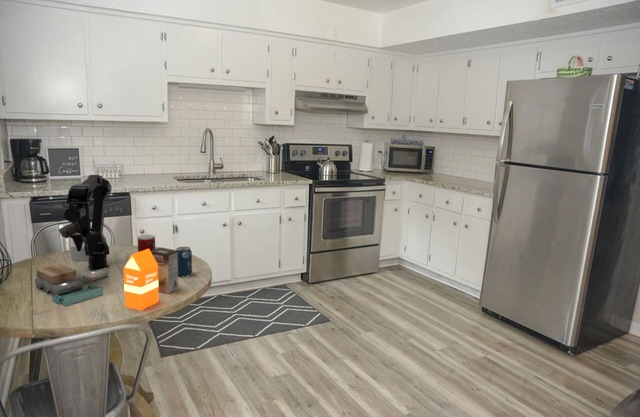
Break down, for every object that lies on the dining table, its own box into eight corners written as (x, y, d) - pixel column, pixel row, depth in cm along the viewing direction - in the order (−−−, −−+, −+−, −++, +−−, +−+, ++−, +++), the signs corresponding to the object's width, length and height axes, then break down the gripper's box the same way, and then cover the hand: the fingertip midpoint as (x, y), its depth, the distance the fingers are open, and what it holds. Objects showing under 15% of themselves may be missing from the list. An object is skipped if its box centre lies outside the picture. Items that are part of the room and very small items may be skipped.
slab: (61, 271, 178) (60, 264, 177) (76, 277, 171) (76, 270, 171) (37, 277, 170) (36, 269, 170) (52, 284, 164) (51, 276, 163)
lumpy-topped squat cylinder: (104, 259, 209) (103, 241, 207) (73, 263, 201) (71, 245, 200) (99, 253, 217) (98, 236, 215) (69, 257, 209) (68, 239, 208)
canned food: (149, 261, 208) (149, 239, 206) (134, 259, 209) (134, 237, 207) (158, 257, 215) (158, 235, 213) (144, 255, 217) (143, 233, 215)
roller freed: (103, 275, 187) (103, 266, 187) (108, 277, 185) (108, 268, 185) (80, 281, 179) (79, 272, 178) (85, 283, 177) (84, 274, 176)
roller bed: (68, 279, 181) (67, 269, 180) (104, 294, 167) (103, 283, 166) (29, 289, 169) (28, 278, 168) (63, 306, 155) (63, 295, 154)
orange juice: (124, 306, 157) (122, 253, 153) (142, 298, 165) (140, 247, 161) (142, 310, 154) (140, 256, 151) (159, 301, 162) (157, 249, 159)
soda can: (192, 276, 190) (192, 250, 188) (175, 278, 187) (175, 251, 185) (191, 271, 196) (191, 245, 194) (175, 272, 194) (174, 246, 192)
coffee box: (149, 290, 173) (148, 251, 170) (160, 285, 179) (159, 247, 176) (168, 294, 170) (167, 254, 167) (179, 288, 176) (178, 250, 173)
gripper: (50, 215, 175) (53, 253, 178) (72, 223, 164) (75, 263, 167) (78, 211, 184) (81, 247, 187) (101, 219, 173) (103, 256, 176)
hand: (84, 253), depth 179 cm, fingers open, 9 cm apart
